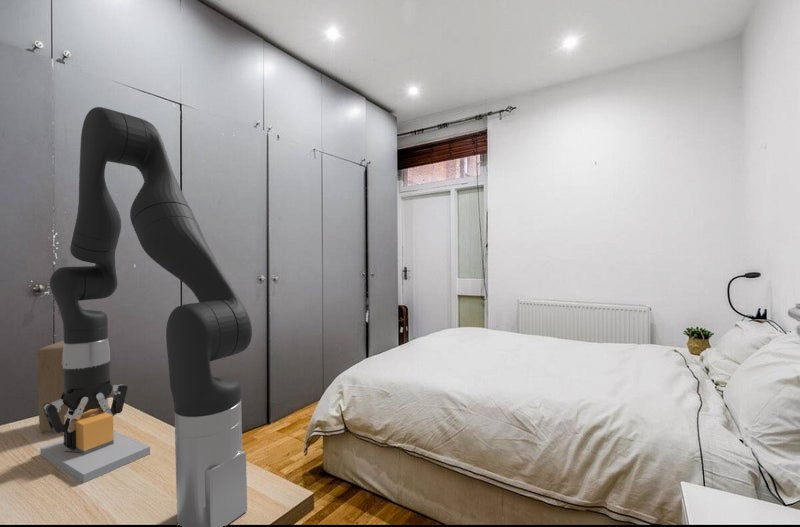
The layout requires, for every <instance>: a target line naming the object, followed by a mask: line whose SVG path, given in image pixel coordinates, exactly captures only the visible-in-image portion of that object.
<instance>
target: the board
mask: <svg viewBox="0 0 800 527" xmlns="http://www.w3.org/2000/svg"><path fill="white" fill-rule="evenodd" d="M113 436H114V444H112V445H109V446H107V447H104V448H101V449H99V450H96V451H94V452H91V453H88V454H86V455H83V454H81V453H79V452H78V451H76V450H74V449H73V450H70V449H69V448H67V447H65V446H64V439H61V440H58V441H56V442H53V443H50V444H47V445H44V446H41V447H40V449H39V451H40V456H42V457H43V458H45V459H46V460H47V461H50V462H51V463H53V464H54V465H56V466H58V468H60V469H61V470H63V471H65V472H66V473H68V474H70V475H71V476H73V477H74V478H76V479H77V480H79V481H80V482H81V483H84V484H85V483H87V482H89V481H92V480H94V479H96V478H98V477H100V476H103V475H105V474H107V473H109V472H112V471H114V470H116V469H119V468H121V467H123V466H126V465H129V464H130V463H133V462H135V461H137V460H139V459H141V458H144V457H146V456H149V455H150V454H151V446H150V445H148V444H145V443H143V442H141V441H139V440H136V439H134V438H132V437H130V436H128V435H126V434H123V433H121V432H118V431H116V430H114V429H113Z"/></svg>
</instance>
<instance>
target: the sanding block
mask: <svg viewBox="0 0 800 527" xmlns="http://www.w3.org/2000/svg"><path fill="white" fill-rule="evenodd" d="M65 419H66V415H65V416H64V422H65ZM113 430H114V416H113V415H111V414H108V413H106V412H104V413H103V412H102V411H98V410H97V409H91V410H89V411H87V412H84V413H82V415H81V418H80V419H79V420H78V421H76V427H75V431H76V448H75V449H74V450H76V451H78V452H79V453H81V454H83V455H86V454H88V453H91V452H94V451H96V450H99V449H101V448H104V447H107V446H109V445H112V444H114V436H113Z"/></svg>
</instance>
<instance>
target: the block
mask: <svg viewBox="0 0 800 527" xmlns="http://www.w3.org/2000/svg"><path fill="white" fill-rule="evenodd" d="M63 348H64V339H63V340H61V341H57V342H55V343H52V344H48V345H46V346H44V347H40V348H39V349H38V350H37V352H36V360H37V361H36V362H37V364H36V366H37V388H38V390H37V391H38V392H37V393H38V399H37V400H38V420H39V421H38V423H39V424H38V425H39V426H38V427H39V429H38V430H39V432H40V434H48V433H49V434H51V433H55V432H54V431H53V430H51V428H50V426H49V423H48V421H47V418H46V415H45V413H44V410H43V405H44V404H45V403H52V402H54V401H57V400H59V399H61V396H62V394H63V391H64V390H63V365H62V359H63V357H62V356H63ZM108 397H109V396H108ZM108 397H107V399H106V401H107V403H108V402H109V400H108V399H109V398H108ZM108 404H109V403H108ZM68 409H69V408H68V407H67V406H66V405H64V404H62V405H61V410H60V411H59V412H58V415H59V417H60V420H61V423H62V424H64V416H65V415H66V414H67V411H68ZM50 432H51V433H50Z"/></svg>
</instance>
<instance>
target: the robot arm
mask: <svg viewBox="0 0 800 527" xmlns="http://www.w3.org/2000/svg"><path fill="white" fill-rule="evenodd" d="M164 144H165V143H164V142H163V139H162V137H161V135H160V133H159V130H158V129H157V128H156V127H155V125H154V124H153V123H151V122H149V121H148V120H146V119H144V118H140V117H137V116H133V115H131V114H127V113H123V112H120V111H117V110H113V109H110V108H106V107H102V106H96V107H93V108H91V109H90V110H89V111H88V112H87V113H86V116H85V118H84V120H83V124H82V129H81V135H80V149H79V168H78V169H79V171H78V172H79V173H78V175H79V176H78V177H79V178H78V206H77V214H76V219H75V225H74V228H73V233H72V237H71V242H70V248H69V249H70V250H69V252H70V255H71V256H72V257H74V258H75V259H77V260H79V261H81V262H86V263H89V264H90V263H91V264H95V265H90V266H89V265H86V266H84V265H83V266H62V267H59V268H57V269H56V270H55V271H53V273H52V275H51V276H50V279H49V288H50V291H51V293H52V296H53V298H54V300H55V302H56V305H57V308H58V310H59V312H60V316H61V321H62V325H63V326H62V327H63V328H62V329H63V340H64V348H63V356H62V357H63V359H62V365H63V390H64V391H63V394H62V396H61V399H59V400H57V401H54V402H52V403H45V404H44V405H43V410H44V413H45V415H46V418H47V421H48V423H49V426H50V428H51V430H53V431H54V432H53V433H57V434H60V433H63V434H62V435H63V440H64V446H65V447H67V448H69V449H70V450H73V449H75V448H76V431H75V427H76V421H78V420H79V419H80V418H81V415H82V413H84V412H87V411H89V410H91V409H97V410H98V411H102V412H103V413H104V412H106V413H108V414H111V415H113V417H114V416H115V415H117V414H121V413H122V412H123V408H124V404H125V401H126V395H127V392H128V388H129V387H128V385H126V384H122V383H118V384H112V382H111V348H110V342H109V326H108V325H109V324H108V319H109V318H108V315H107V313H106V312H104V311H101V310H89V309H83V307H81V305H80V303H79V302H80V301H88V300H90V301H91V300H101V299H107V298H109V297H110V296H112V295H113V294H114V293H115V292H116V290H117V288H118V276H117V269H116V250H117V247H118V244H119V243H118V242H119V238H120V235H121V231H122V230H121V229H122V219H121V215H120V211H119V210H118V208H117V206H116V203H115V202H114V200H113V198H112V196H111V194H110V191H109V189H108V186H107V184H106V178H105V174H106V172H105V170H106V166H107V162H109V163H113V164H114V163H115V164H119V165H126V166H130V167H133V168H136V169H137V170H139V172H140V174H141V177H142V179H143V184H142V186H141V187H140V190H139V191H138V193H137V195H135V197H134V200H133V202H132V204H131V206H130V211H129V212H130V213H129V218H130V222H131V225H132V227H133V230H134V232H135V234H136V237H137V239H138V242H139V244H140V246H141V247H142V249H143V251H144V252H145V253H146V255H147V256H148V257H149V258H150V259H151V260H153V262H155V263H156V264H158V265H159V266H160V267H161V268H163V269H164V270H166V271H167V272H168V273H170V274H171V275H172V276H174V277H175V278H176V279H178V280H180V282H182V283H183V284H185V285H186V287H188V289H190V291H191V292H192V293H193V294H194V296H195V297H196V299H197V301H198V302H193V303H192V302H191V303H185V304H181V305H178V306H176V307H175V308H174V309H172V310H171V312H170V315H169V316H168V319H167V322H166V329H165V330H166V331H165V333H166V335H165V339H166V351H167V352H166V353H167V362H168V372H169V374H168V375H169V385H170V392H171V396H172V399H173V405H174V406H173V410H174V444H175V445H174V446H175V448H174V450H175V488H176V489H175V490H176V493H175V494H176V516H177V517H176V519H177V520H176V522H178V524H179V525H180V526H182V527H223V526H225V527H226V526H228V525H229V524H231V523H233V521H235V520H236V519H237V518H239V517H240V516H242V515H244V513H246V512H247V511H248V486H247V485H248V483H247V482H248V480H247V479H248V478H247V475H248V474H247V473H248V472H247V452H246V451H245V450H243V431H242V430H243V428H242V426H243V425H242V424H243V422H242V420H243V419H242V416H243V415H242V388H241V383H240V382H239V381H238V380H236V379H235V378H231V377H226V376H225V377H224V376H213V374H212V368H211V362H213V361H217V360H221V359H223V358H224V359H225V358H227V357H231V356H234V355H237V354H240V353H242V352H244V351H245V350H247V349H248V348H249V346H250V343H251V341H252V338H253V328H252V323H251V322H252V321H251V318H250V317H249V313H248V311H247V309H246V307H245V306H244V303H243V302H242V300H241V299H240V296H239V295H238V294H237V292H236V291H235V289H234V288H233V287H232V285H231V283H230V282H229V280H228V279H227V277H226V275H225V274H224V272H223V270H222V269H221V267H220V266H219V263H218V262H217V260H216V257H215V256H214V254H213V252H212V250H211V248H210V246H209V244H208V243H207V241H206V239H205V236H204V234H203V233H202V229H201V228H200V225H199V223H198V221H197V219H196V217H195V215H194V212H193V211H192V209H191V207H190V205H189V203H188V201H187V200H186V198H185V196H184V194H183V191H182V190H181V187H180V185H179V183H178V179H177V178H176V175H175V174H174V171H173V168H172V165H171V162H170V159H169V156H168V154H167V151H166V147H165V145H164ZM111 393H112V395H113V398H112V403H111V407H110V406H109V403H107V401H106V399H107V397H109V396H110V394H111ZM62 404H64V405H66V406H67V407H68V408H69V409H68V411H67V414H66V419H65V422H64V424H62V423H61V420H60V417H59V415H58V412H59V411H60V410H61V405H62ZM178 524H177V525H178Z"/></svg>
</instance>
